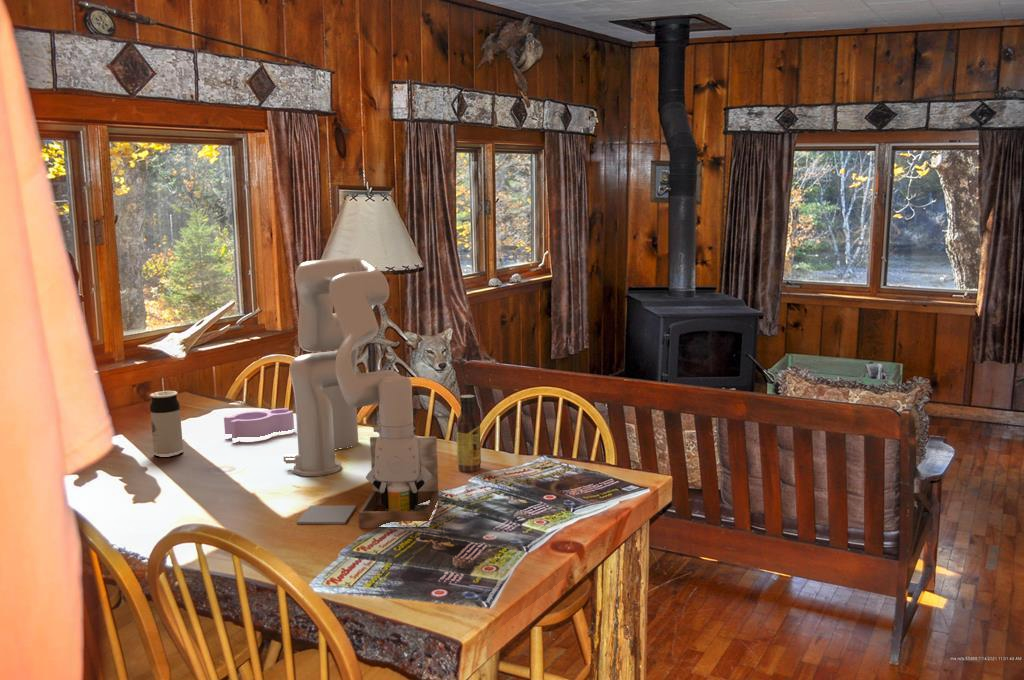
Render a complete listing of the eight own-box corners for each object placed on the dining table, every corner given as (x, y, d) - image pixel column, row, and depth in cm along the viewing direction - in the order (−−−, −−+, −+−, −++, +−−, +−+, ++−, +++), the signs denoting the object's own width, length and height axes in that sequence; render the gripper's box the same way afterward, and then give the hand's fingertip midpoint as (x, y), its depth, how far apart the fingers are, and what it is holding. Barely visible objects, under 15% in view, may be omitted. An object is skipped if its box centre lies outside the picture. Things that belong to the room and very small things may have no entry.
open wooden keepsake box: (359, 527, 208) (355, 455, 206) (373, 504, 224) (370, 437, 221) (429, 527, 207) (426, 455, 205) (439, 504, 223) (436, 436, 220)
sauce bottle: (478, 473, 246) (475, 399, 243) (454, 472, 248) (452, 398, 244) (483, 466, 253) (481, 393, 250) (461, 465, 254) (458, 393, 251)
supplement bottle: (402, 521, 212) (400, 479, 210) (383, 517, 215) (381, 476, 213) (417, 514, 216) (415, 473, 215) (398, 510, 219) (396, 470, 218)
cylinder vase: (365, 445, 276) (361, 362, 272) (325, 453, 269) (320, 367, 265) (347, 437, 286) (343, 356, 282) (308, 444, 279) (303, 361, 275)
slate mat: (296, 524, 211) (296, 522, 211) (310, 507, 222) (310, 505, 222) (345, 524, 211) (345, 521, 211) (356, 507, 222) (356, 505, 222)
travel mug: (183, 449, 277) (178, 389, 274) (183, 456, 269) (178, 394, 266) (154, 452, 274) (149, 391, 271) (153, 459, 267) (148, 397, 264)
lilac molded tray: (284, 427, 301) (283, 406, 300) (299, 435, 291) (298, 413, 290) (222, 437, 290) (220, 415, 289) (235, 446, 280) (233, 423, 279)
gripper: (355, 435, 209) (359, 513, 212) (432, 435, 208) (435, 513, 211) (362, 427, 217) (366, 502, 219) (436, 426, 215) (439, 502, 218)
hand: (400, 507), depth 215 cm, fingers closed on supplement bottle, 5 cm apart
